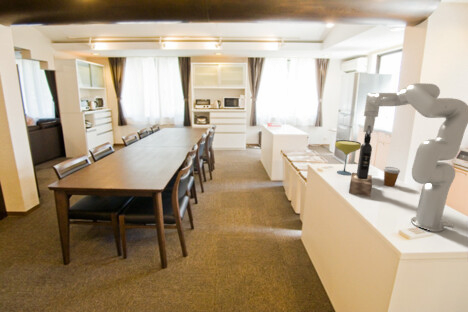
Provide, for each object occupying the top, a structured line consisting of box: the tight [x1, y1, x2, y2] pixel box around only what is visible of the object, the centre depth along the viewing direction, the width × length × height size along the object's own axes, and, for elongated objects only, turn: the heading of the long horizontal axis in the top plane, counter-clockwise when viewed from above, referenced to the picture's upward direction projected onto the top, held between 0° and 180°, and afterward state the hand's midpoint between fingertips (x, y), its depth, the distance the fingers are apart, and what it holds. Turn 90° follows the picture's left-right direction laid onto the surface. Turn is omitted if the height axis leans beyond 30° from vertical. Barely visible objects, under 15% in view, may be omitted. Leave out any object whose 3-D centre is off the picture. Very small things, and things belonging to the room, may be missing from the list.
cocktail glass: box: [334, 139, 362, 176], centre depth 194 cm, size 18×18×25 cm
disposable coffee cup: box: [383, 166, 401, 188], centre depth 171 cm, size 10×10×12 cm
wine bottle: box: [356, 133, 373, 179], centre depth 158 cm, size 6×6×30 cm
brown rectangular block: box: [348, 172, 373, 198], centre depth 163 cm, size 12×20×8 cm, turn 152°
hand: (366, 141), depth 156 cm, fingers open, 9 cm apart
